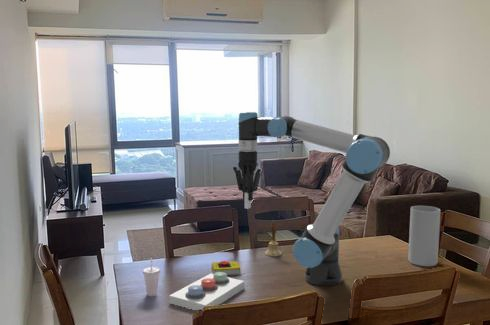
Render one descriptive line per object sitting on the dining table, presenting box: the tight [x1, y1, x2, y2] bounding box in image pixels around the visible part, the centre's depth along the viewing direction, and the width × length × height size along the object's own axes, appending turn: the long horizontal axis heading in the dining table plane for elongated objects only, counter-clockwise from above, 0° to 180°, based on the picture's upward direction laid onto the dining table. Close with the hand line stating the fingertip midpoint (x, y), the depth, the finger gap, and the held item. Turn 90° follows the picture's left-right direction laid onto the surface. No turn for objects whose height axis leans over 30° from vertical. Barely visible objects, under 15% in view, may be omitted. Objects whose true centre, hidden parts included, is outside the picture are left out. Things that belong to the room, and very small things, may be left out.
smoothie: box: [142, 257, 161, 297], centre depth 179 cm, size 6×6×14 cm
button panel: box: [168, 273, 245, 311], centre depth 178 cm, size 16×26×3 cm, turn 149°
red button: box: [201, 278, 215, 289], centre depth 178 cm, size 5×5×2 cm
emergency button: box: [208, 260, 246, 276], centre depth 204 cm, size 9×4×15 cm
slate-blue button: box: [188, 285, 203, 297], centre depth 171 cm, size 5×5×2 cm
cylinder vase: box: [407, 205, 441, 268], centre depth 214 cm, size 12×12×25 cm
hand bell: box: [264, 220, 283, 257], centre depth 227 cm, size 8×8×16 cm
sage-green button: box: [213, 272, 228, 282], centre depth 185 cm, size 5×5×2 cm
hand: (247, 207), depth 194 cm, fingers closed
